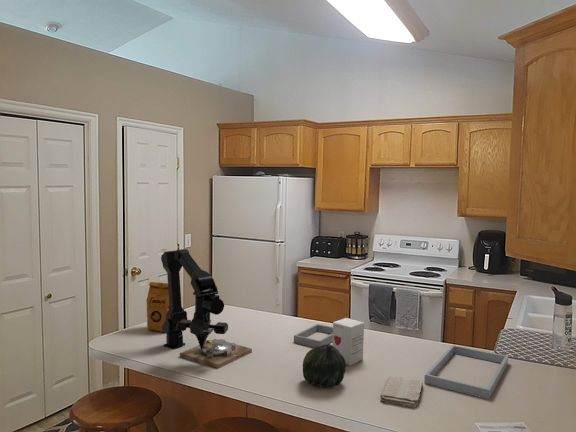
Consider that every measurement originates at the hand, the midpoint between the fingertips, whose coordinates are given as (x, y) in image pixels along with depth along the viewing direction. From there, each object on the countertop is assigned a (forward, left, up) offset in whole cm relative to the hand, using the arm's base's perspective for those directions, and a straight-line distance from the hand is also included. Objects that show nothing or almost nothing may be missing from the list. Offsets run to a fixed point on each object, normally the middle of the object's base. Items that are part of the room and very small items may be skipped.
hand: (201, 348), depth 181 cm
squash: (+47, +11, -6) cm, 49 cm away
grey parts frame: (+23, +49, -5) cm, 54 cm away
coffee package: (-42, +18, -6) cm, 46 cm away
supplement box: (+44, +35, -6) cm, 56 cm away
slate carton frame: (+86, +49, -5) cm, 99 cm away
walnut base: (-1, +9, -5) cm, 10 cm away
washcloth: (+72, +18, -6) cm, 75 cm away
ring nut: (-1, +9, -4) cm, 10 cm away
